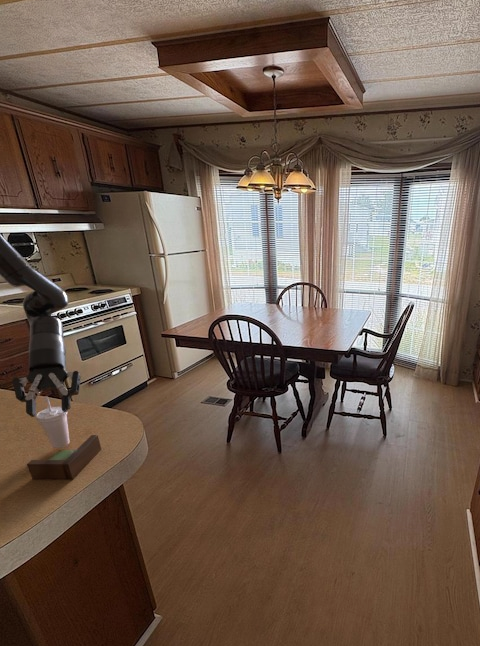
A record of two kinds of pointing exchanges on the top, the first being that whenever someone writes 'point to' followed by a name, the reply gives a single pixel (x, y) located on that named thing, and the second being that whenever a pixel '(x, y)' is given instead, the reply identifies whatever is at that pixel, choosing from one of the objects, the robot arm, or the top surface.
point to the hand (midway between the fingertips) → (49, 413)
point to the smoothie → (54, 425)
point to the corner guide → (65, 462)
